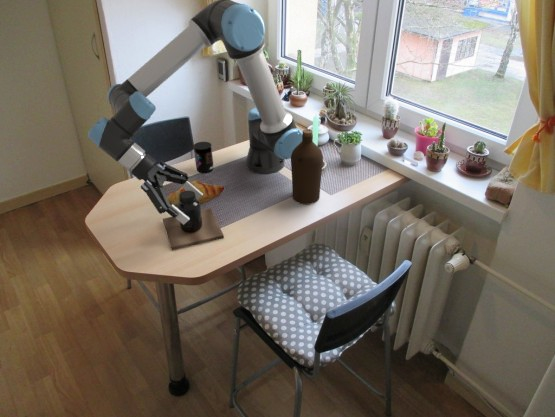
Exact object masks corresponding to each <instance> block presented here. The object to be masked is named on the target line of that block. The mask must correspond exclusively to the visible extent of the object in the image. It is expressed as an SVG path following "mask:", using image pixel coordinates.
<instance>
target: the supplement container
mask: <svg viewBox="0 0 555 417" xmlns="http://www.w3.org/2000/svg"><path fill="white" fill-rule="evenodd" d="M193 154H194V161H195V162H194V163H195V168H196V171H197V172H198V173H199V174H210V173H211V172H213V170H214V167H215V166H214V159H213V158H214V157H213V147H212V143H211V142H209V141H199V142H196V143H194V144H193Z"/></svg>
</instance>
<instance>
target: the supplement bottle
mask: <svg viewBox="0 0 555 417" xmlns="http://www.w3.org/2000/svg"><path fill="white" fill-rule="evenodd" d="M179 200H180V201H179V203H178V205H176V207H177V208H178V209H179V210H180V211H181V212H183V213H184V214H185V215H186V216H187V217H189V218H190V219H189V220H188V221H187V222H186V223H185V224H184V225H183V224H182V223H181V222H180V226H181V229H182V230H183V231H184V232H188V233H192V232H196V231H198V230H200V229H201V227H202V217H201V210H202V208H201V204H200V203H199V201H198V200H197V199H196V196H195V193H194V192H193V191H183V192H181V193H180V194H179Z"/></svg>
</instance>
